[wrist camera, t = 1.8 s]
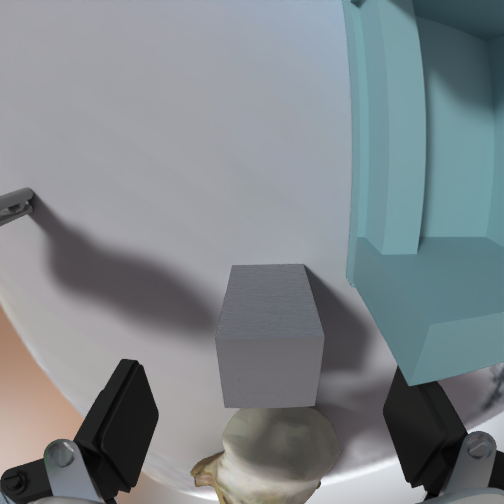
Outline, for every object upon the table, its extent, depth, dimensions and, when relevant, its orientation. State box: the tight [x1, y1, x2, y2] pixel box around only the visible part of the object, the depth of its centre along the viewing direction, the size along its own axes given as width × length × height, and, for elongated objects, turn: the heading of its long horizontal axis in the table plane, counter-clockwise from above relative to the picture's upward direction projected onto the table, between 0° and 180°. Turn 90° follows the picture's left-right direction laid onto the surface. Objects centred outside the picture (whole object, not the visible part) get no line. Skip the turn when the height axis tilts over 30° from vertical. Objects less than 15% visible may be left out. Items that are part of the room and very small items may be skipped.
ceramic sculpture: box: [190, 407, 342, 504], centre depth 16 cm, size 11×9×15 cm
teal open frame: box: [342, 0, 504, 386], centre depth 8 cm, size 16×10×8 cm, turn 2°
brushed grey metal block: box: [215, 264, 325, 408], centre depth 13 cm, size 4×4×6 cm
